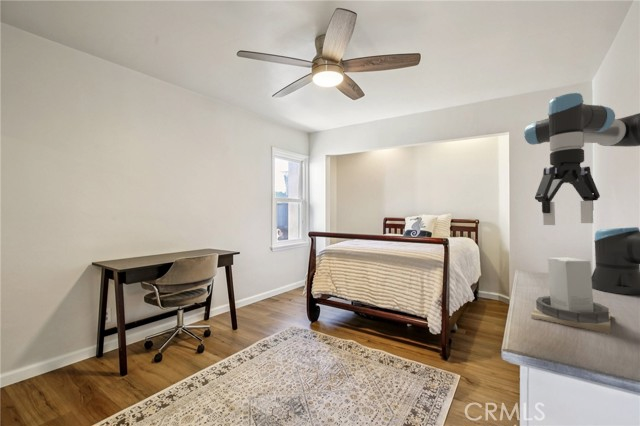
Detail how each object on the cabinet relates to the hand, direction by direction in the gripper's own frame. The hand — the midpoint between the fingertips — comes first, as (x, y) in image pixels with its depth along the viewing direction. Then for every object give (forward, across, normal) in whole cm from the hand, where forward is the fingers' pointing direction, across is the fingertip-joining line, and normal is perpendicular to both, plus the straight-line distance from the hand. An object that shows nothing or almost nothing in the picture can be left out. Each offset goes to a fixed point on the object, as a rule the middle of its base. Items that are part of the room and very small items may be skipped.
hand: (568, 224), depth 83 cm
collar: (+27, 0, 0) cm, 27 cm away
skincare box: (+26, 0, 0) cm, 26 cm away
